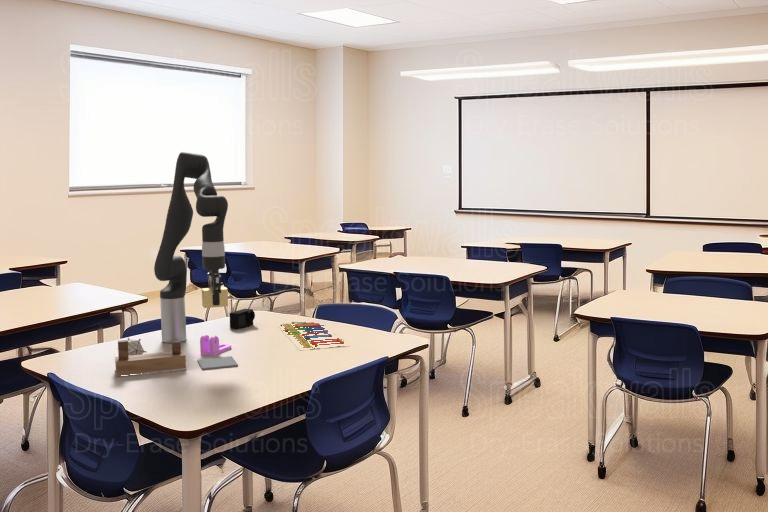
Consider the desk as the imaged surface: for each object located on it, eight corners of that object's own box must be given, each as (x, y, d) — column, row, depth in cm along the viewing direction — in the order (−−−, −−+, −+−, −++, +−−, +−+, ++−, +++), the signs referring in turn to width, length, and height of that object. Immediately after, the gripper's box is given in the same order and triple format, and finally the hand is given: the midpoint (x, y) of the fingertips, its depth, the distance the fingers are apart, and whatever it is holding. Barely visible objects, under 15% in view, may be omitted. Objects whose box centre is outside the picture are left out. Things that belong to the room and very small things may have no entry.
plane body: (115, 371, 247) (113, 339, 246) (184, 364, 255) (182, 333, 254) (116, 377, 240) (114, 344, 239) (186, 369, 248) (185, 337, 247)
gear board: (277, 321, 315) (320, 317, 322) (277, 326, 316) (321, 323, 322) (299, 345, 273) (349, 341, 279) (299, 351, 273) (349, 347, 280)
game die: (138, 370, 261) (155, 347, 261) (123, 368, 253) (141, 344, 254) (123, 355, 265) (140, 333, 265) (108, 352, 257) (125, 329, 257)
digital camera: (240, 330, 307) (239, 313, 306) (229, 328, 310) (229, 312, 309) (255, 325, 316) (255, 309, 315) (245, 324, 319) (245, 308, 318)
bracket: (213, 356, 266) (212, 337, 266) (200, 354, 269) (199, 336, 268) (234, 348, 278) (233, 329, 277) (221, 346, 281) (221, 328, 280)
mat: (197, 361, 259) (197, 359, 259) (231, 357, 264) (231, 356, 264) (202, 370, 248) (202, 368, 248) (238, 366, 253) (237, 364, 252)
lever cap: (202, 305, 254) (201, 286, 253) (225, 304, 257) (225, 285, 256) (204, 308, 250) (203, 288, 249) (228, 306, 253) (227, 287, 252)
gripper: (228, 256, 246) (229, 306, 248) (221, 251, 259) (222, 299, 261) (205, 257, 243) (207, 308, 245) (199, 252, 256) (200, 301, 258)
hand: (215, 303), depth 253 cm, fingers closed on lever cap, 4 cm apart
